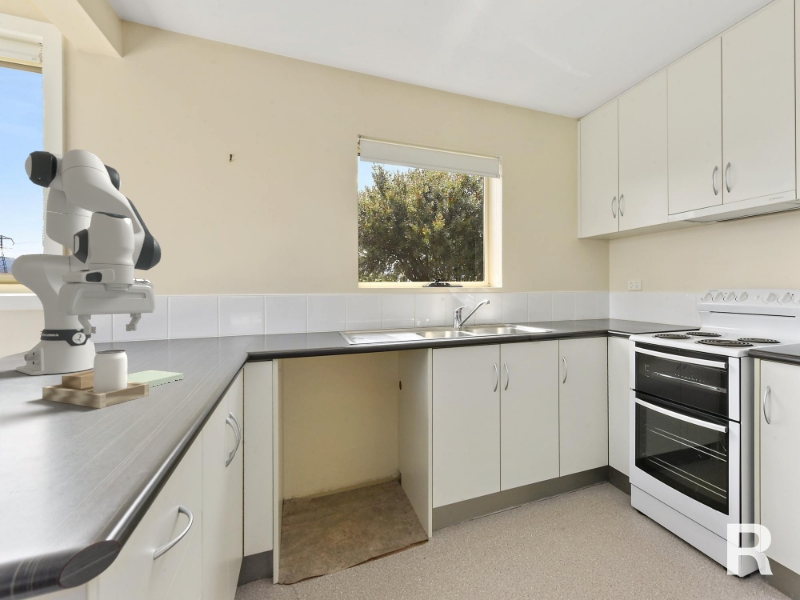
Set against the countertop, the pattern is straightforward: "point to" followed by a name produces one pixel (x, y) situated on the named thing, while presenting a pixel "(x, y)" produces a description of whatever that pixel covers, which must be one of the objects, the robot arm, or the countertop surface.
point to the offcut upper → (78, 380)
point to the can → (110, 371)
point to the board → (154, 377)
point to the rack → (95, 395)
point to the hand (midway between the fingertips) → (111, 332)
